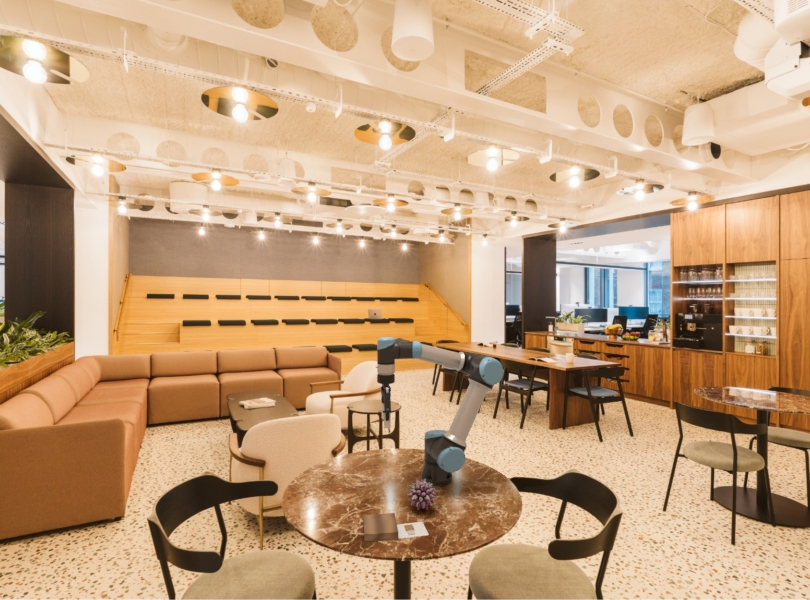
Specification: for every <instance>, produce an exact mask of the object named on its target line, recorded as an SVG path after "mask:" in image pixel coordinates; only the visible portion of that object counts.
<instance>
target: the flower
mask: <svg viewBox="0 0 810 600" xmlns="http://www.w3.org/2000/svg"><path fill="white" fill-rule="evenodd" d="M415 481H416V482H412V484H410V485H409V487H410V489H409V490H408V493H407V497H410V498H408V501H411V503H410V505H411V506H413V507H416V508H417V511H419V510H422V509H423V510H424V509H425V510H426V511H427V510H429V506H430V507H432V505H433V504H435V501H434V499H436V496H435V495H437V493H436V492H434V491H436V489H435V487H434V488H432V487H433V484H432V483H431V484H430V482H429V483H428V484H427V482H426V479H424V481H423V480H421V479H420V480H418V479H417V478H416V479H415Z"/></svg>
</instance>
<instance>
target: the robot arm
mask: <svg viewBox="0 0 810 600" xmlns="http://www.w3.org/2000/svg"><path fill="white" fill-rule="evenodd" d="M376 345H377V347H376V352H377V353H376V355H377V357H376V358H377V362H376V363H377V365H376V366H375V369H376V370H377V375H376V376H377V377H376V381H377V383H378V384H381V386H380V391H381V392H380V394H381V397H380V401H381V419H383V429H391V423H392V422H391V420H392V419H391V415H392V414H391V412H392V406H391V404H392V401H391V397H392V395H391V391H392V387H391V386H390V384H391V385H392V384H394V383H395V381H396V380H395V379H396V377H395V376H396V374H395V373H396V362H395V361H396V360H409V359H411V360H420V361H424V362H428V363H432V364H435V365H440V366H444V367H445V366H446V367H449V368H452V369H455V370H456V371H457V372H461V373H464V374H466V375H467V376H468V378H467V379H468V380H467V381H468V382H469V385H468V386H467V388H466V391H465V394H464V396H463V397H462V400H461V402H460V404H459V407H458V409H457V411H456V413H455V416H454V418H453V419H452V421H451V424H450V427H449V428H448V430H446V429H445V430H444V429H433V430H427V431H426V432H425V433H424V438H423V440H424V463H423V466H422V469H421V472H420V481H421V480H423V481H424V479H426V482H427V484H428V483H429V482H430V484H431V483H432V484H433V485H432V487H433V486H435V487H440V486H441V487H442V486H446V485H449V484H451V483H452V481H453V473H456V472H459V471H460V470H461V469H462V468H463V467H464V465H465V463H466V461H467V460H466V454H465V451H466V449H467V445H468V444H467V442H466V441H467V438H468V436H469V433H470V431H471V428H472V426H473V425H474V422H475V420H476V418H477V415H478V414H479V411H480V408H481V407H482V405H483V402H484V400H485V397H486V396H487V393H488V392H490V391H492V390H493V387H494V386H495V385H497V384H499V383H500V382H501V380H502V379H503V377H504V368H503V365H502V363H501V362H500V361H499V360H498V359H495V358H494V357H491V356H488V355H484V354H480V353H471V352H470V353H469V352H465V351H459V352H456V351H452V350H448V349H446V348H445V349H444V348H441V347H436V346H432V345H429V344H424V343H422V342H420V341H417V340H416V341H415V340H413V341H412V340H409V339H404V338H402V337H396V338H394V337H392V336H388V337H387V336H382V337H379V338H378V339H377V343H376Z"/></svg>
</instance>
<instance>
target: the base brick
mask: <svg viewBox="0 0 810 600" xmlns="http://www.w3.org/2000/svg"><path fill="white" fill-rule="evenodd" d="M362 519H363V536H364V539H363V540H364V542H380V541H381V542H382V541H396V540H397V541H398V540H399V538H398V528H397V525H398V524H397V518H396V514H395V512H390V513H375V514H373V513H372V514H363V518H362Z"/></svg>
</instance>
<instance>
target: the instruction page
mask: <svg viewBox="0 0 810 600" xmlns="http://www.w3.org/2000/svg"><path fill="white" fill-rule="evenodd" d="M397 528H398V540H399V539H408V538H417V537H425V536H426V537H427V536H429V532H428V530H427V528H426V526H425V524H424V522H423V521H416V522H408V523H399V524H397Z"/></svg>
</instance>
